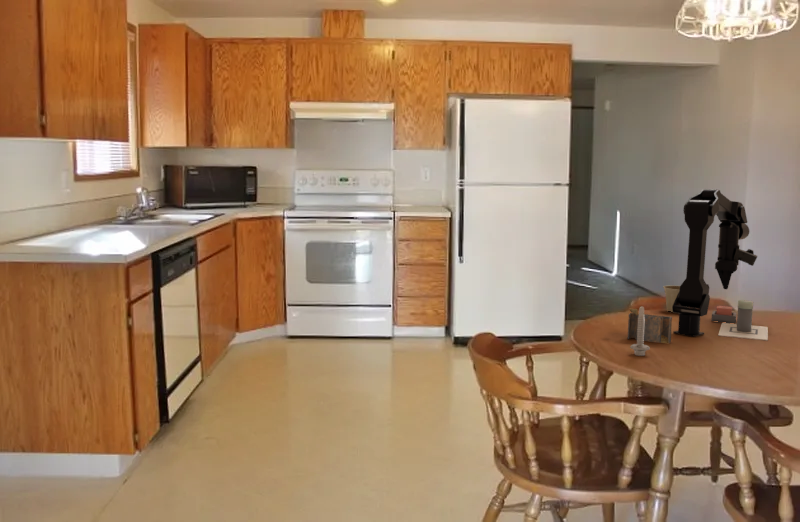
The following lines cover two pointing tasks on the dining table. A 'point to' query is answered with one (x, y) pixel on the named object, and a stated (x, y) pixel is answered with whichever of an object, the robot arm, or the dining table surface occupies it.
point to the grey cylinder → (744, 316)
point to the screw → (640, 335)
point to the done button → (724, 310)
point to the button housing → (724, 317)
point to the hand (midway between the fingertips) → (725, 289)
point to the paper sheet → (755, 333)
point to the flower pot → (671, 295)
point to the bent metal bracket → (651, 327)
